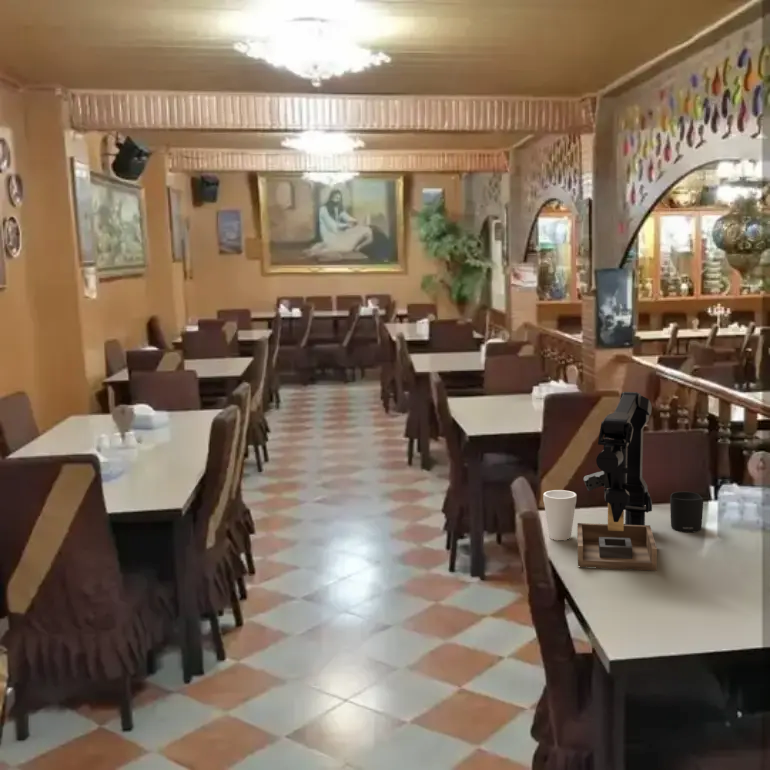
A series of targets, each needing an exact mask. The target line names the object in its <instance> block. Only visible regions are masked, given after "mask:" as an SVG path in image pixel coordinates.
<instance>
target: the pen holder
mask: <svg viewBox="0 0 770 770" xmlns="http://www.w3.org/2000/svg"><path fill="white" fill-rule="evenodd" d="M669 498H670V499H669V503H670V505H669V507H670V510H669V511H670V512H669V513H670V527H671V528H672V530H674V529H675V530H674V531H677V530H678V532H681V531H682V532H683V533H696V532H699V531H701V529H702V526H703V525H702V523H703V513H704V512H703V511H704V510H703V509H704V498H703V497H702V496H701V495H700V494H699V493H696V492H692V491H675V492H672V493H671V494H670V495H669Z"/></svg>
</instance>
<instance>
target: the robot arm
mask: <svg viewBox="0 0 770 770" xmlns="http://www.w3.org/2000/svg"><path fill="white" fill-rule="evenodd" d="M652 407H653V406H652V403H651V400H650V399H649V398H647V397H644V396H643V395H642V394H641V392H640V393H639V392H637V391H623V392H622V393H621V395H620V397H619V402H618V404H617V406H616V408H615V410H614V412H612V413H609V414H607V415H606V416H605V417H604V419H603V420H602V421H601V424H600V429H599V435H598V442H597V445H599V446H600V445H601V446H603V449H602V451H601V452H599V453H598V454H597V457H596V465H597V468H599V470H601V471H596V472H593V473H590V474H588V475H585V476H584V477H583V483H584V485H585V487H586V489H587V491H588V492H590V491H591V492H592V491H593V490H595V489H598V488H602V487H603V488H604V489H603V493H604V502H605V503H607V504H608V503H609V504H610V505H611V509H612V514H613V520H614V522H618V521H619V519H620V517H621V514H622V512H623V510H624V511H625V512H624V515H625V516H624V521H625V522H624V525H646V513H649V512H652V511H653V502H652V497H651V496H650V492H648V484H647V483H646V481H645V479H644V478H643V457H644V455H643V453H644V447H643V446H644V428H645V426H646V425H647V424H648V422H649V420H650V416H651V414H652V409H653V408H652Z"/></svg>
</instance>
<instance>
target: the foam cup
mask: <svg viewBox="0 0 770 770" xmlns="http://www.w3.org/2000/svg"><path fill="white" fill-rule="evenodd" d="M542 496H543V500H542V501H543V504H544V511H545V517H546V518H545V519H546V525H547V533H548V538H549V539H550V540H553V539H554V540H553V541H558V540H564V541H568V540H567V539H569V538H570V539H571V538H572V533H573V532H572V531H573V525H574V517H575V509H576V504H577V493H576V492H574V491H570V490H564V489H553V490H547V491H545V492H543V495H542ZM570 539H569V540H570Z"/></svg>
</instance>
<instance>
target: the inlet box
mask: <svg viewBox="0 0 770 770" xmlns="http://www.w3.org/2000/svg"><path fill="white" fill-rule="evenodd" d="M654 537H655V536H654V534H653V530H652V528H651V525H648V524H647V525H646V524H645V525H624V531H610V530H608V523H586V522H585V523H582V522H581V523H580V522H577V538H576V539H577V540H576V541H577V543H576V544H578V545H577V567H578V566H580V567H596V568H595V569H601V568H608V569H607V570H624V569H634V570H633V571H647V570H651V571H650V572H652V570H653V572H657V569H658V568H657V566H658V565H657V562H658V560H657V559H658V555H657V553H658V548H657V544H656V541H655V538H654ZM611 568H612V569H611ZM654 570H655V571H654Z"/></svg>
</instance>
